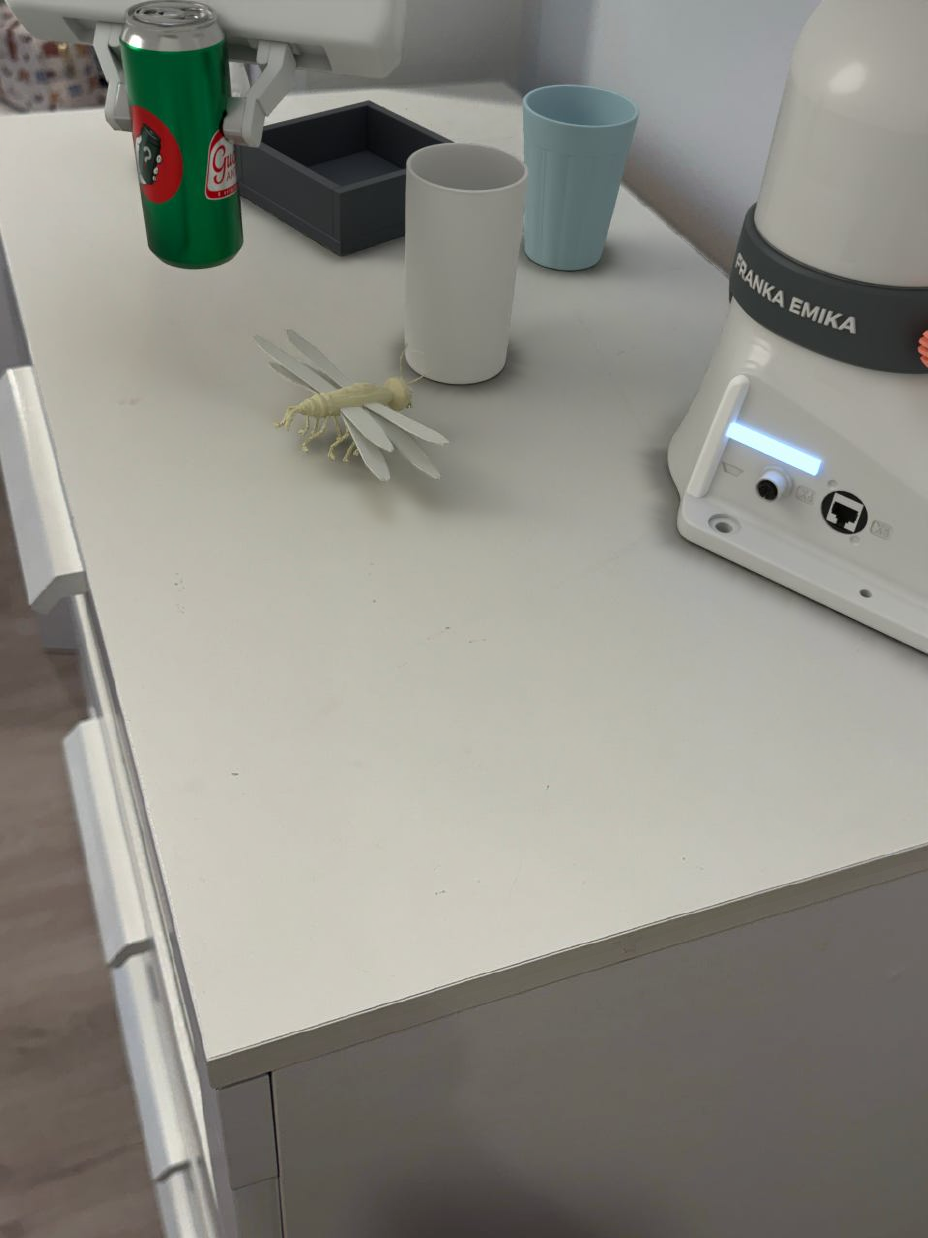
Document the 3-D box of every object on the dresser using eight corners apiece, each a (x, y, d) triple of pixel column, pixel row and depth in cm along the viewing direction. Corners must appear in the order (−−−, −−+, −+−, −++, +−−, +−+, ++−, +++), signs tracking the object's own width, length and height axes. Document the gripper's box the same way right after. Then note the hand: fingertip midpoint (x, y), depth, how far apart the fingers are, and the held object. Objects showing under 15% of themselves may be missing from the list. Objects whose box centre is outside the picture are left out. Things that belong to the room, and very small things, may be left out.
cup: (577, 222, 88) (596, 77, 81) (637, 266, 84) (663, 116, 76) (490, 239, 85) (502, 91, 78) (547, 286, 81) (565, 132, 73)
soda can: (236, 276, 62) (214, 31, 54) (139, 271, 62) (103, 25, 54) (251, 234, 66) (232, -1, 57) (159, 229, 65) (128, -7, 57)
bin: (473, 212, 88) (478, 152, 85) (340, 256, 82) (339, 193, 79) (368, 156, 95) (369, 99, 92) (237, 193, 88) (233, 132, 85)
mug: (515, 388, 71) (536, 193, 62) (403, 388, 70) (409, 190, 62) (497, 306, 78) (513, 122, 70) (395, 305, 77) (400, 119, 69)
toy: (211, 412, 67) (204, 333, 63) (341, 366, 71) (340, 290, 68) (364, 547, 59) (364, 465, 56) (498, 486, 63) (506, 407, 60)
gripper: (3, -199, 57) (-47, 77, 56) (416, -159, 55) (369, 128, 55) (58, -112, 63) (14, 138, 63) (431, -73, 61) (389, 185, 61)
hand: (182, 134), depth 59 cm, fingers closed on soda can, 5 cm apart
